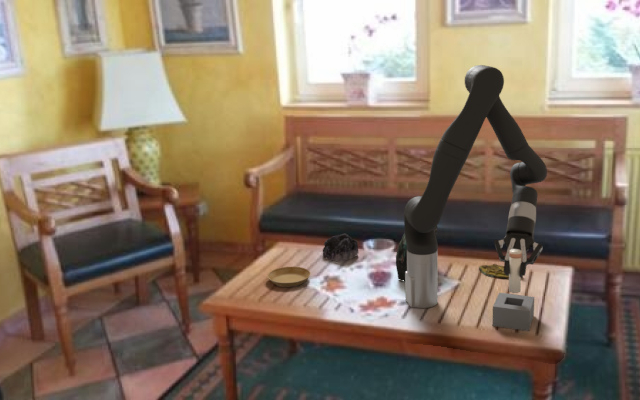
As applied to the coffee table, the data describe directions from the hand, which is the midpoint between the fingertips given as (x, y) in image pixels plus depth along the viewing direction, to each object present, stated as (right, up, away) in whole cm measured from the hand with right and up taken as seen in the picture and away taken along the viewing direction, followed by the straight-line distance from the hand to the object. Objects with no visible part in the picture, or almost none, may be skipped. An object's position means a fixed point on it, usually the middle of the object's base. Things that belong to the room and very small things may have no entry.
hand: (514, 275), depth 185 cm
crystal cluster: (-46, 0, +64) cm, 79 cm away
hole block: (+2, -14, +6) cm, 15 cm away
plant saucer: (-65, -7, +43) cm, 78 cm away
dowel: (+1, -5, +3) cm, 6 cm away
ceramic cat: (-20, -4, +44) cm, 48 cm away
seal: (+7, -4, +40) cm, 41 cm away
